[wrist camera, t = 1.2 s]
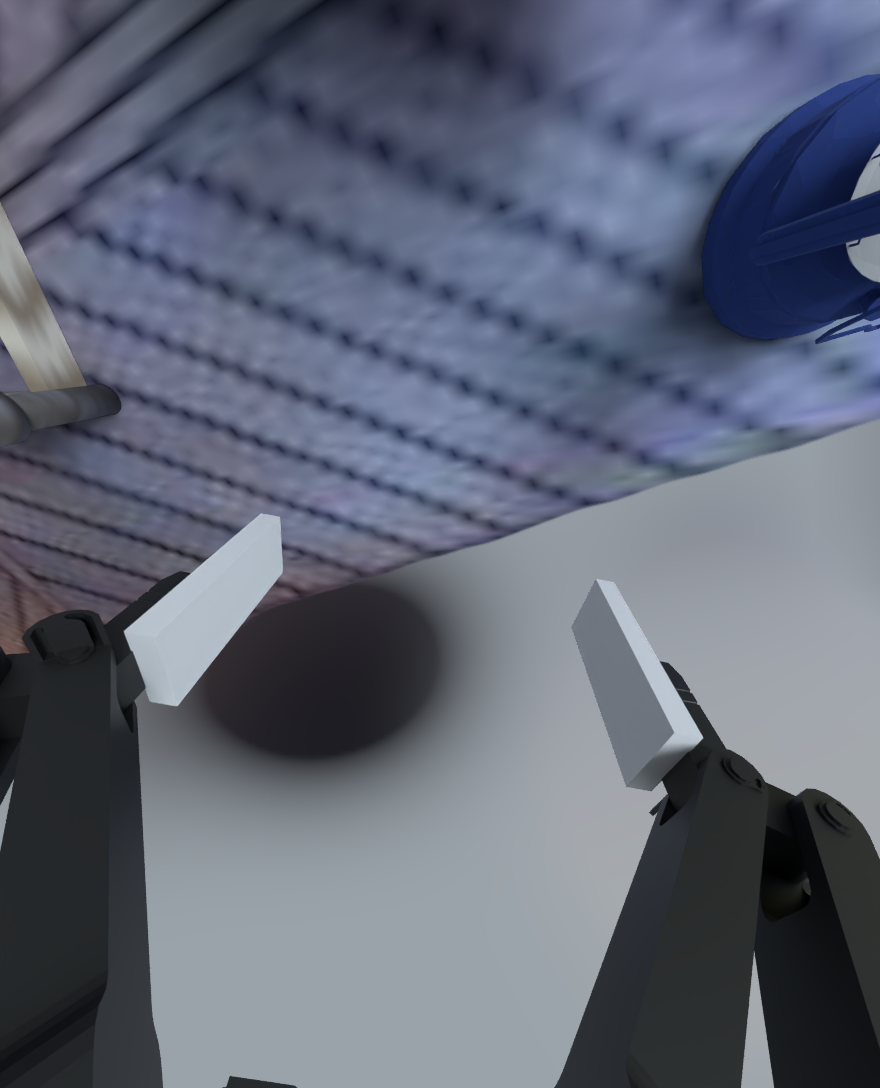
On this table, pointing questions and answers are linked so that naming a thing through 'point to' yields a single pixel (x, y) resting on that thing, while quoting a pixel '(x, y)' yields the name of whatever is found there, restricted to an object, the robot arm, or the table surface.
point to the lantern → (802, 222)
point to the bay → (39, 354)
